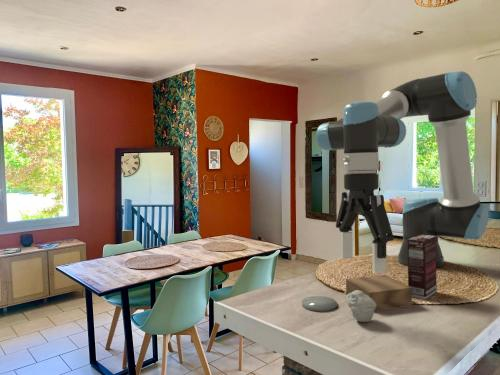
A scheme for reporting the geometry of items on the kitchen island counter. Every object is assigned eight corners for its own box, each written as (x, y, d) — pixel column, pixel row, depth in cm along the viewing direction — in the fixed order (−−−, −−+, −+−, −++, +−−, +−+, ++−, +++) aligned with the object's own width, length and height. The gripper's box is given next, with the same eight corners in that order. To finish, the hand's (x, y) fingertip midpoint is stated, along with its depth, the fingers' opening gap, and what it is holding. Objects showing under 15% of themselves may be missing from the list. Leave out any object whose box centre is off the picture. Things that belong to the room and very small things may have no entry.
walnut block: (384, 292, 109) (384, 274, 108) (411, 306, 97) (411, 287, 97) (346, 296, 106) (346, 279, 106) (369, 312, 94) (369, 292, 94)
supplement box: (419, 288, 110) (419, 234, 109) (437, 292, 106) (437, 235, 105) (406, 296, 104) (406, 238, 103) (425, 300, 100) (424, 240, 99)
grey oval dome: (327, 297, 105) (327, 294, 105) (343, 308, 96) (343, 305, 96) (296, 301, 103) (296, 298, 103) (310, 313, 94) (310, 310, 94)
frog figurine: (351, 313, 93) (350, 285, 93) (380, 319, 89) (380, 290, 89) (342, 322, 88) (341, 292, 88) (372, 329, 84) (372, 298, 84)
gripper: (321, 172, 97) (322, 254, 98) (378, 173, 73) (379, 281, 74) (348, 171, 99) (349, 252, 100) (411, 172, 75) (412, 278, 76)
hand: (361, 265), depth 87 cm, fingers open, 13 cm apart
